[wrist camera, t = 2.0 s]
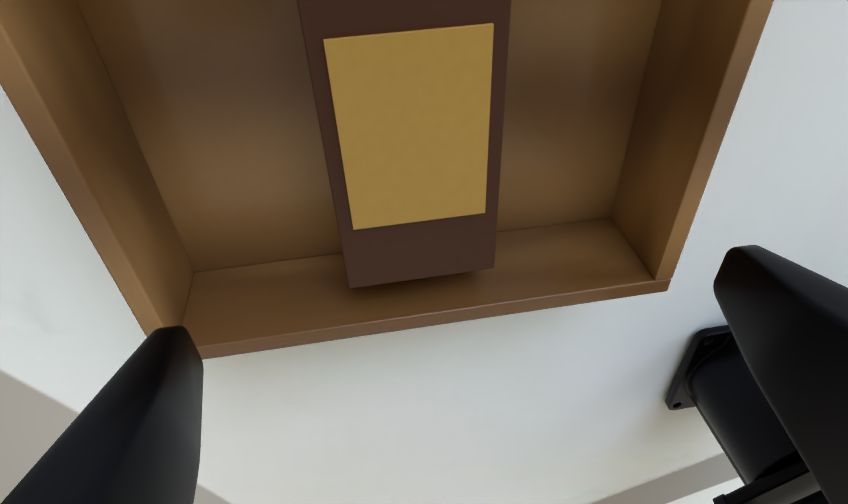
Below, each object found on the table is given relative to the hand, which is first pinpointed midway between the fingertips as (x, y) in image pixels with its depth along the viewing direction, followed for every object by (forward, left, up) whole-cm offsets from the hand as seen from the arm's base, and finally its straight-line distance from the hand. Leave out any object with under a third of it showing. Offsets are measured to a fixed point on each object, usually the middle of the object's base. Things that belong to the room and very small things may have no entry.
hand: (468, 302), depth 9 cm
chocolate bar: (0, 0, -9) cm, 9 cm away
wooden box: (0, 0, -9) cm, 9 cm away
